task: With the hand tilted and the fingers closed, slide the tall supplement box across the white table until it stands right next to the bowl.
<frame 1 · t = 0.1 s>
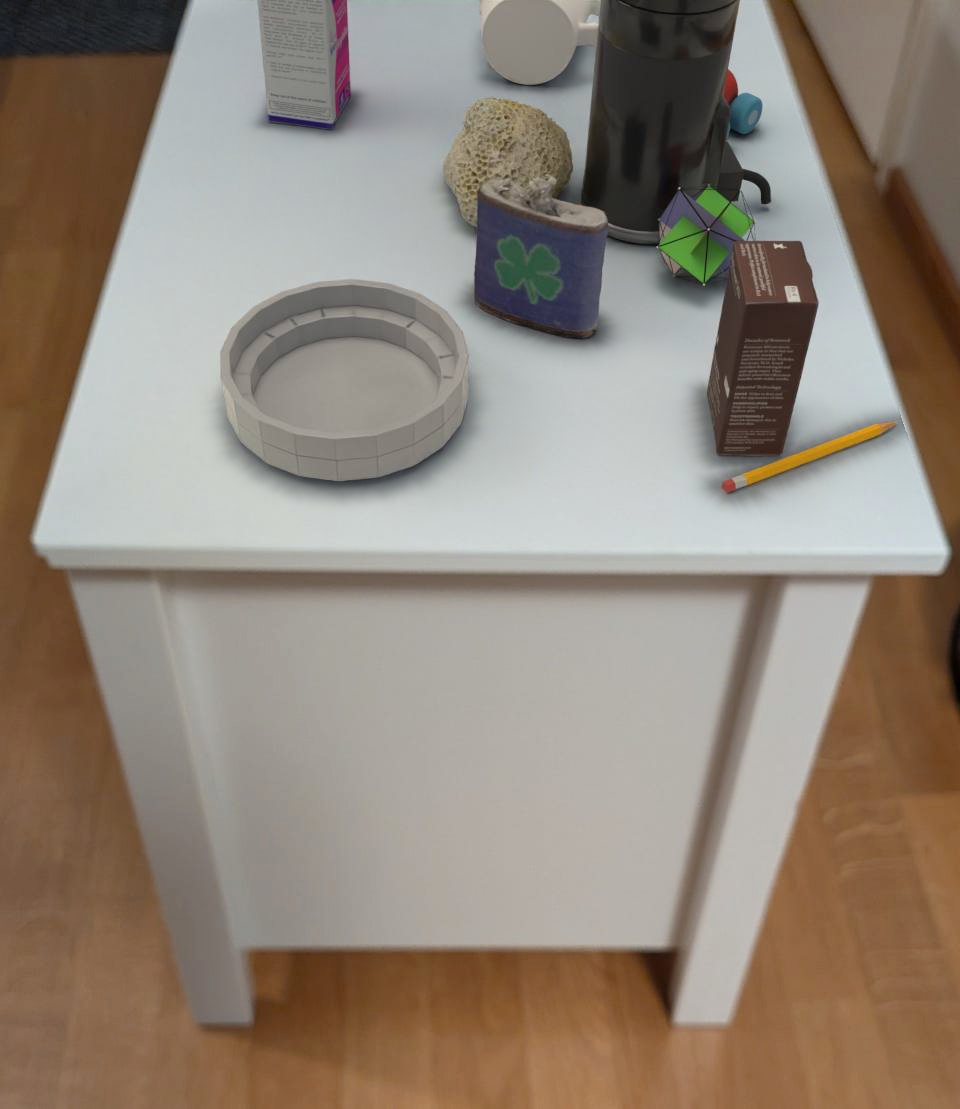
bowl: (348, 402, 80), on the table
pencil: (810, 445, 78), point 1 cm above the table
geometric puzzle: (743, 186, 85), point 7 cm above the table
supplement box: (311, 111, 105), on the table
box: (740, 428, 80), on the table
toy car: (688, 125, 104), on the table
mug: (544, 62, 111), on the table
decorative item: (505, 199, 97), on the table
flask: (533, 317, 87), on the table
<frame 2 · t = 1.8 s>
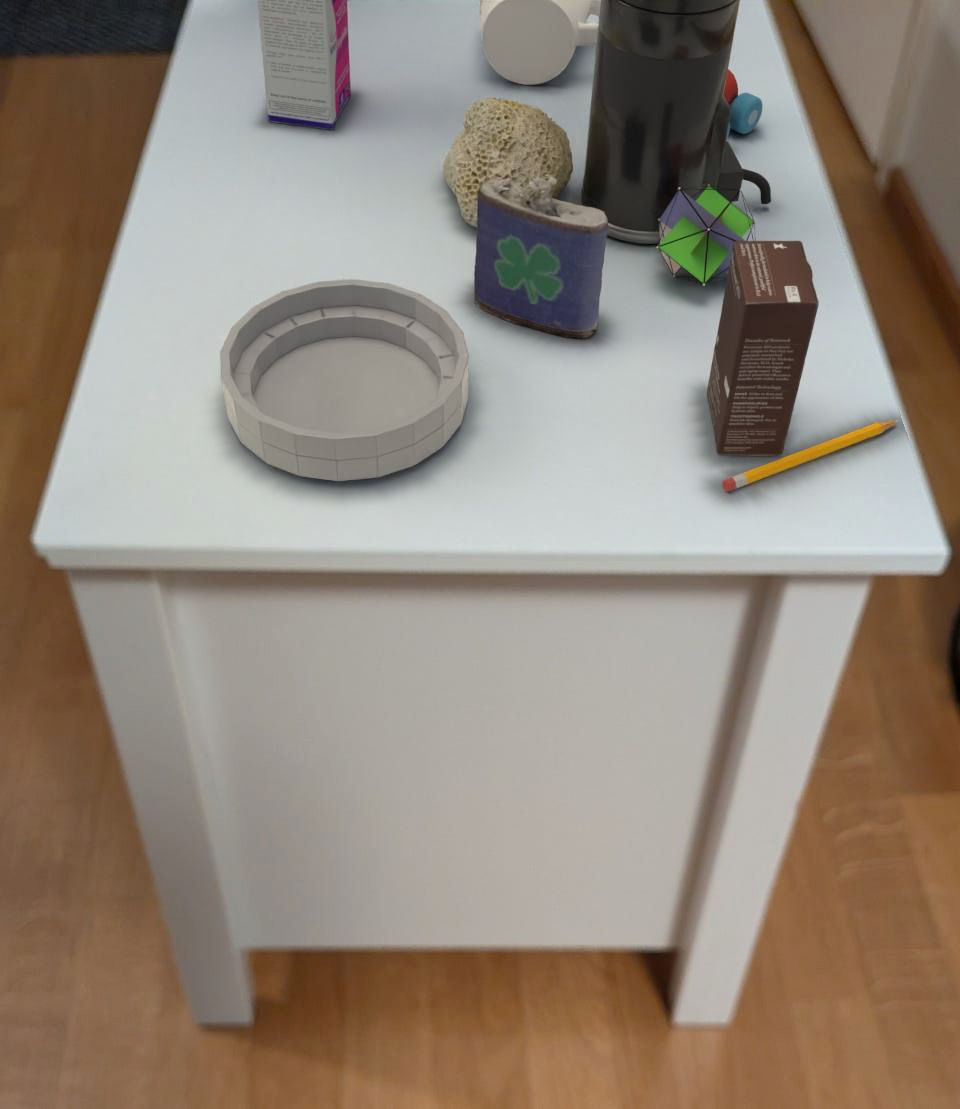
nothing on the table moved.
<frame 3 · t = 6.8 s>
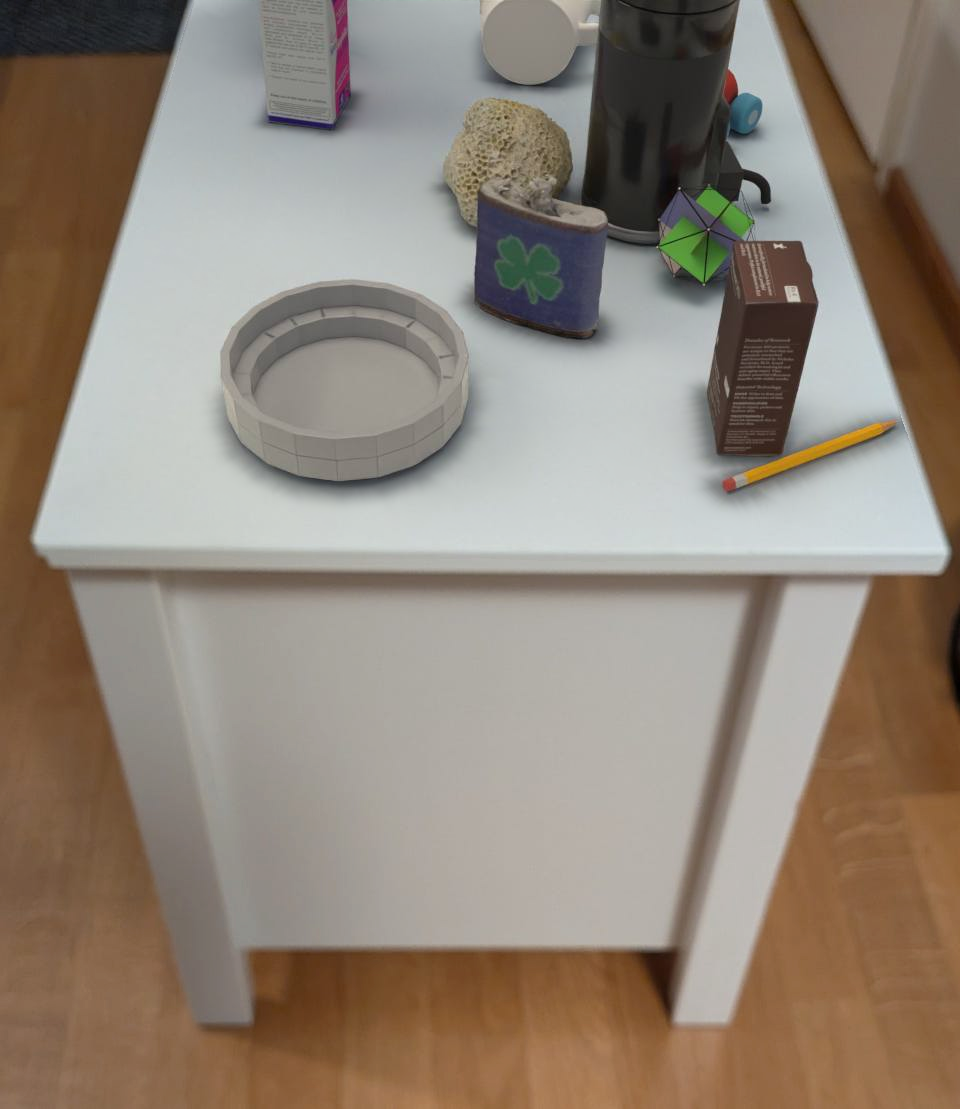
hand: (304, 30, 103), 5 cm above the table, tool tilted 45°, fingers closed
supplement box: (311, 111, 105), on the table, touching gripper
everything else where it was.
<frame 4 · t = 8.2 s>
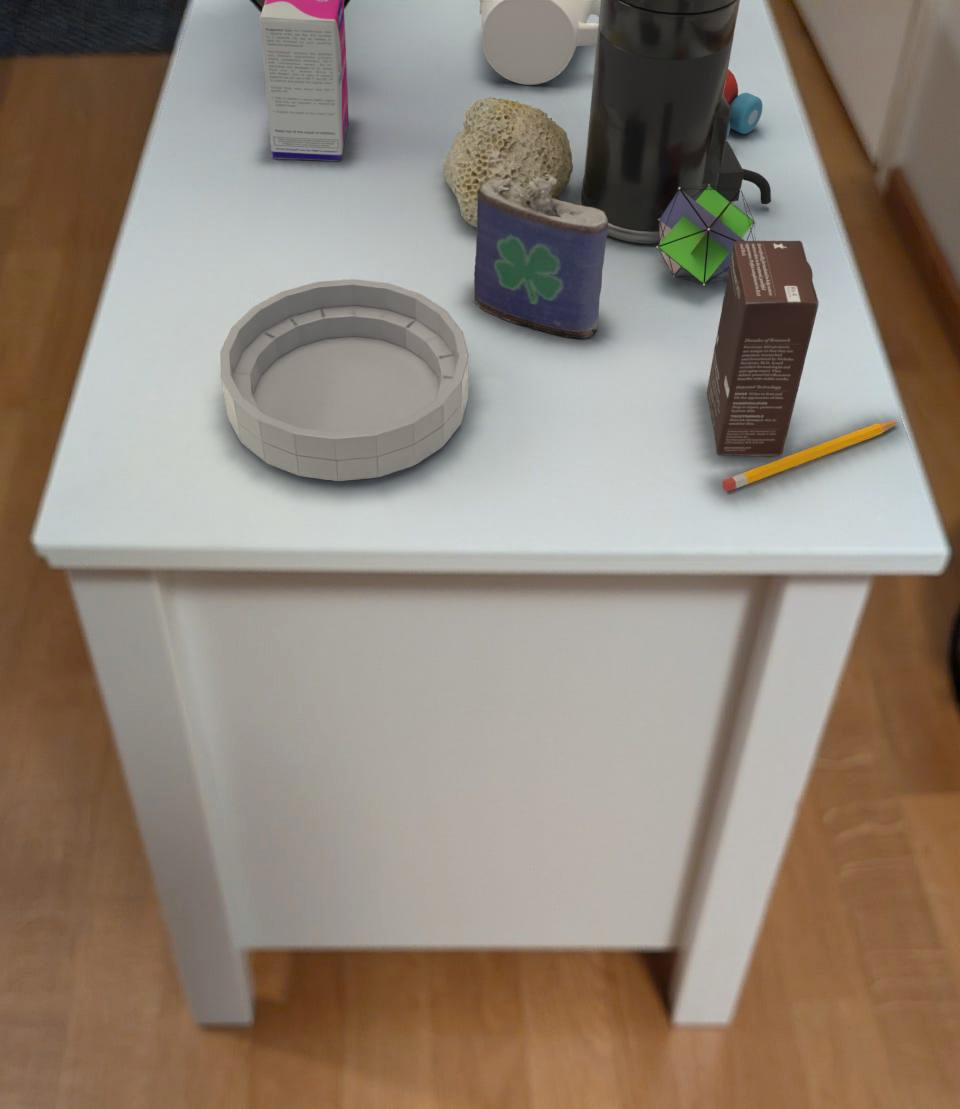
hand: (308, 69, 100), 4 cm above the table, tool tilted 45°, fingers closed
supplement box: (312, 143, 101), on the table, touching gripper
everything else where it was.
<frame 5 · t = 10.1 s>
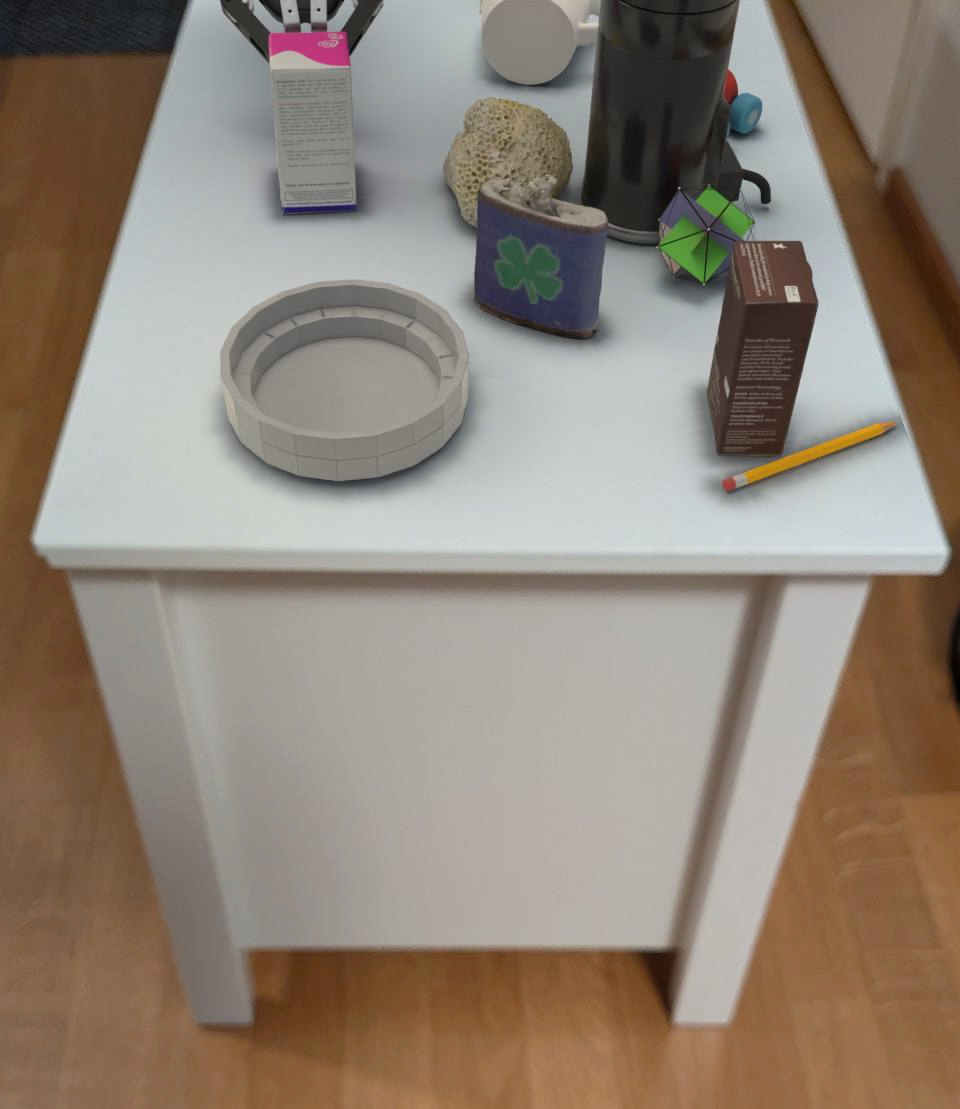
hand: (314, 117, 95), 4 cm above the table, tool tilted 45°, fingers closed
supplement box: (319, 194, 97), on the table, touching gripper
everything else where it was.
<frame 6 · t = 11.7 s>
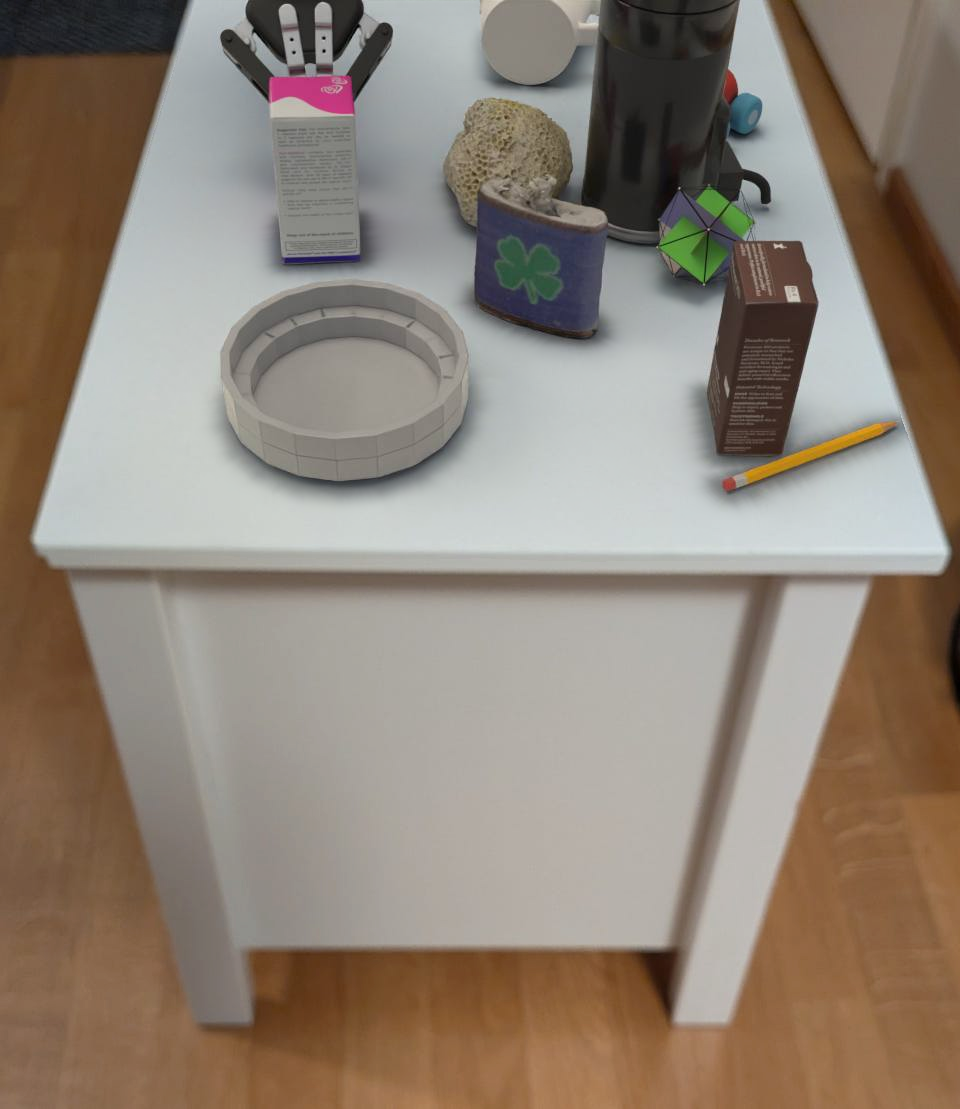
hand: (319, 162, 91), 4 cm above the table, tool tilted 45°, fingers closed
supplement box: (321, 242, 92), on the table, touching gripper
everything else where it was.
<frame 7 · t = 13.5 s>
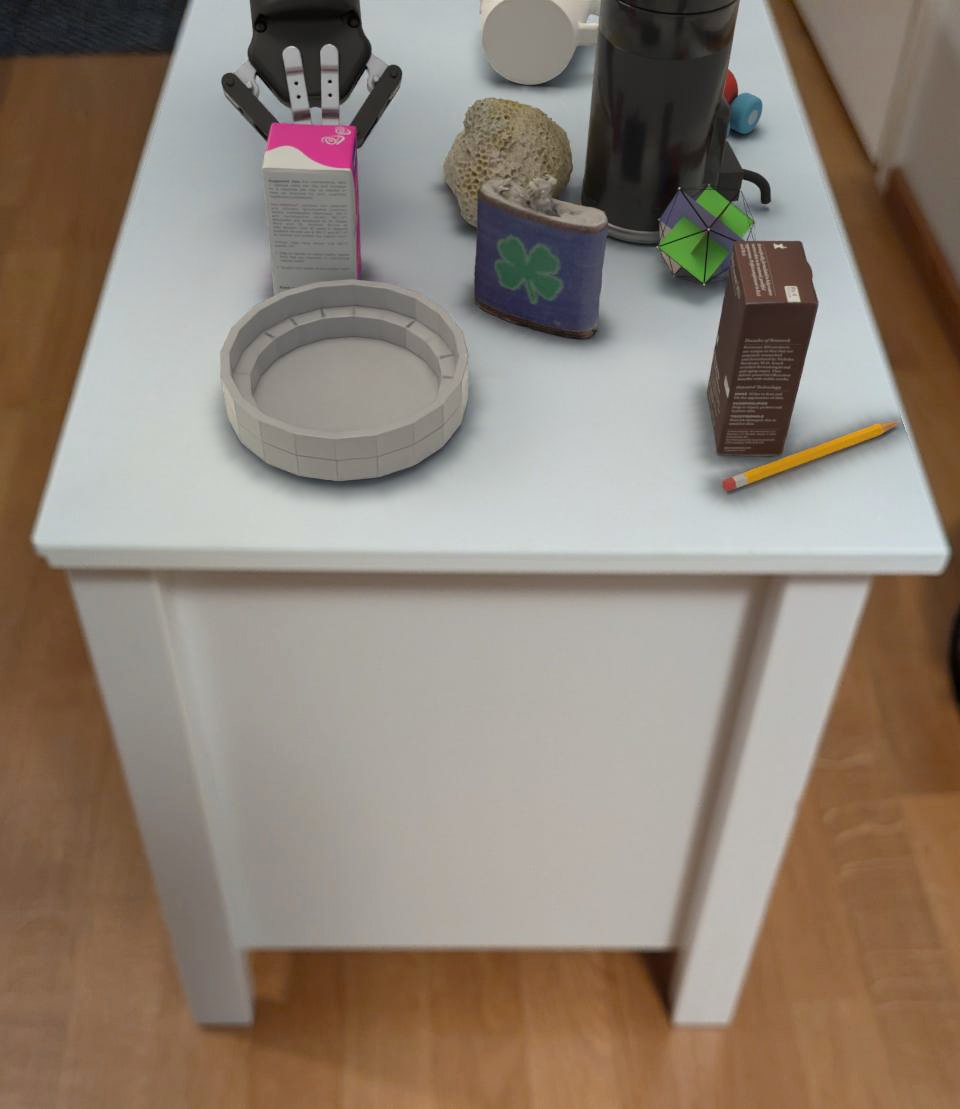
hand: (325, 211, 87), 4 cm above the table, tool tilted 45°, fingers closed
supplement box: (321, 294, 88), on the table, touching gripper
everything else where it was.
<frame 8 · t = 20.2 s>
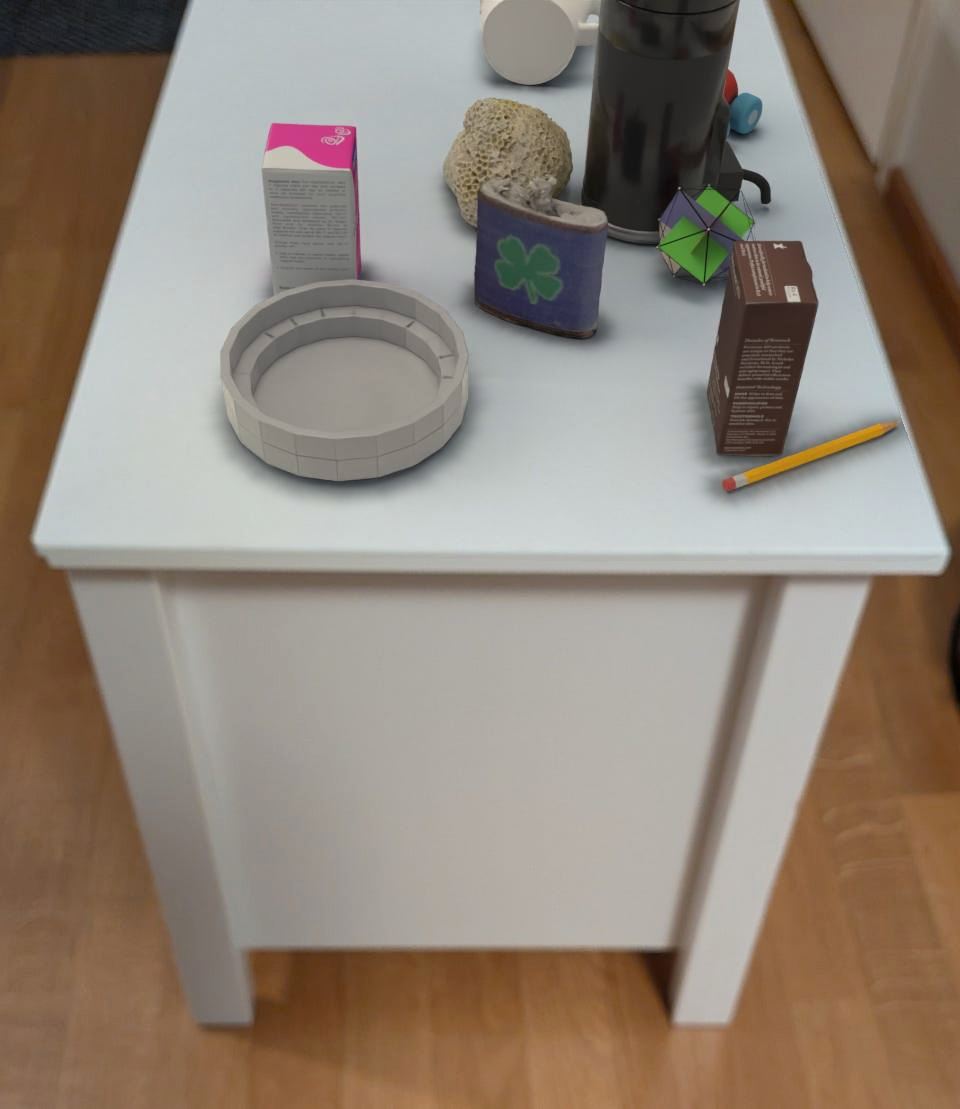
supplement box: (321, 295, 88), on the table
everything else where it was.
at the end: supplement box inside the target area on the table beside the bowl (1.1 cm from its centre), on the table; supplement box tilted 0°; supplement box moved 25.3 cm from its start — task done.
